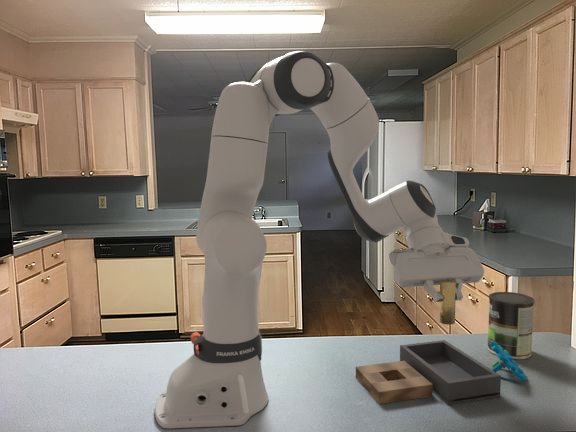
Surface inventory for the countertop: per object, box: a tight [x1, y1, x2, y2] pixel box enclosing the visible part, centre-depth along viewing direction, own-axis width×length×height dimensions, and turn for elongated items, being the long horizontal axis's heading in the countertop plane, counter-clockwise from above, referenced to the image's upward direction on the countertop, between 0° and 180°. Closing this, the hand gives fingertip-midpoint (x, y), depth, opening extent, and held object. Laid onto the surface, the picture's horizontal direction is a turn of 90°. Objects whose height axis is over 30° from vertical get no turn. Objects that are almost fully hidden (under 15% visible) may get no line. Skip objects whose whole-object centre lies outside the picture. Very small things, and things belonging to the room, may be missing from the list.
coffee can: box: [487, 291, 535, 360], centre depth 114 cm, size 10×10×14 cm
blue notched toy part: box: [490, 341, 528, 382], centre depth 102 cm, size 11×6×10 cm
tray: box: [399, 339, 502, 406], centre depth 100 cm, size 12×20×4 cm, turn 14°
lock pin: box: [439, 280, 456, 325], centre depth 99 cm, size 3×3×9 cm
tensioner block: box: [355, 360, 434, 405], centre depth 97 cm, size 12×12×2 cm
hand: (449, 300), depth 98 cm, fingers closed on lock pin, 3 cm apart
